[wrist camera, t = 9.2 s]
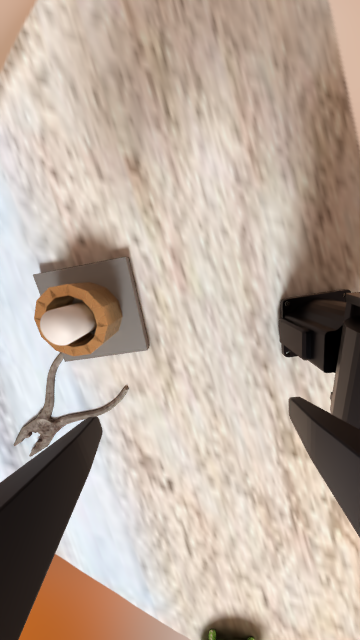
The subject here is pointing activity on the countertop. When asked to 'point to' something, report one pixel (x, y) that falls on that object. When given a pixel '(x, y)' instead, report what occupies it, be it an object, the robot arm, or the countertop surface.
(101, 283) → the grey peg stand
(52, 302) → the ring
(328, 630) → the countertop surface
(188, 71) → the countertop surface
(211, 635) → the turtle holder
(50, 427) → the pliers
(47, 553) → the robot arm
